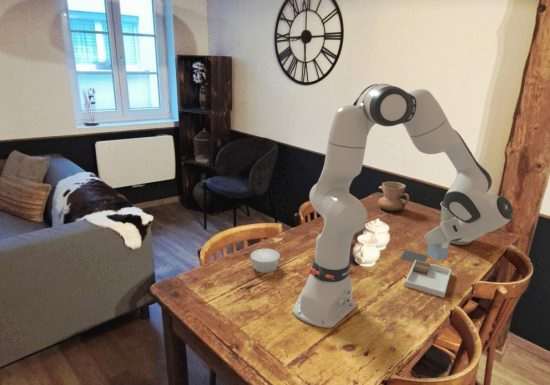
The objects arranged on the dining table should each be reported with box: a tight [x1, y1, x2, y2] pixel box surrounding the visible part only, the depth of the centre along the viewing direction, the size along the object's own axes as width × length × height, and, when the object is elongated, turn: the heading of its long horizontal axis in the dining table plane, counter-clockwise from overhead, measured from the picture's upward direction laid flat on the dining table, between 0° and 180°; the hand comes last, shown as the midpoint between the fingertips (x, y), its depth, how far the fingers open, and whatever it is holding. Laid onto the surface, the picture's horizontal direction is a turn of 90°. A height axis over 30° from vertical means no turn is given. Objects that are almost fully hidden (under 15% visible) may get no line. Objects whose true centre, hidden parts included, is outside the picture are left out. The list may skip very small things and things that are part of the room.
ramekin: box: [250, 248, 281, 274], centre depth 144 cm, size 11×11×5 cm
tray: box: [404, 260, 452, 298], centre depth 137 cm, size 18×13×3 cm
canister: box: [440, 200, 473, 246], centre depth 168 cm, size 18×18×21 cm
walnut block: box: [413, 260, 431, 275], centre depth 143 cm, size 5×5×2 cm
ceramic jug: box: [377, 181, 410, 212], centre depth 204 cm, size 18×14×14 cm
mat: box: [399, 249, 428, 263], centre depth 153 cm, size 9×9×1 cm
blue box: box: [425, 228, 451, 262], centre depth 132 cm, size 5×4×10 cm
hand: (437, 241), depth 132 cm, fingers closed on blue box, 4 cm apart
